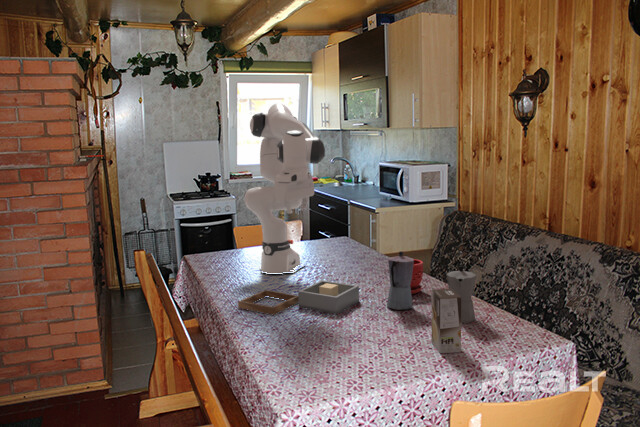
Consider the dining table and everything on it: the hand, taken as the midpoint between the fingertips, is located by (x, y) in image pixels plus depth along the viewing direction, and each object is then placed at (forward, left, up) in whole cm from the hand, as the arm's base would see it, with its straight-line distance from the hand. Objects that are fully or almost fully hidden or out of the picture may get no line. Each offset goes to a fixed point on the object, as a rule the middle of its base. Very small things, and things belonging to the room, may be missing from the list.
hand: (296, 211), depth 203 cm
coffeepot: (-5, +62, -33) cm, 70 cm away
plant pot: (-24, +34, -33) cm, 53 cm away
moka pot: (-5, +40, -33) cm, 52 cm away
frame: (+15, -3, -33) cm, 36 cm away
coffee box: (+21, +66, -33) cm, 77 cm away
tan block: (+4, +16, -32) cm, 36 cm away
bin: (+4, +16, -33) cm, 37 cm away
